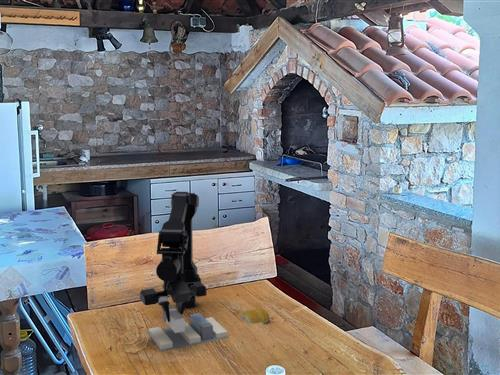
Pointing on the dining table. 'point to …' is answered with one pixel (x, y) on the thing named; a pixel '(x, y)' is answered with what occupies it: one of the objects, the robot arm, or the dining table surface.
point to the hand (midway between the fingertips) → (173, 320)
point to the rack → (184, 336)
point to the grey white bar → (175, 320)
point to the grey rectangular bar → (201, 326)
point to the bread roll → (255, 316)
